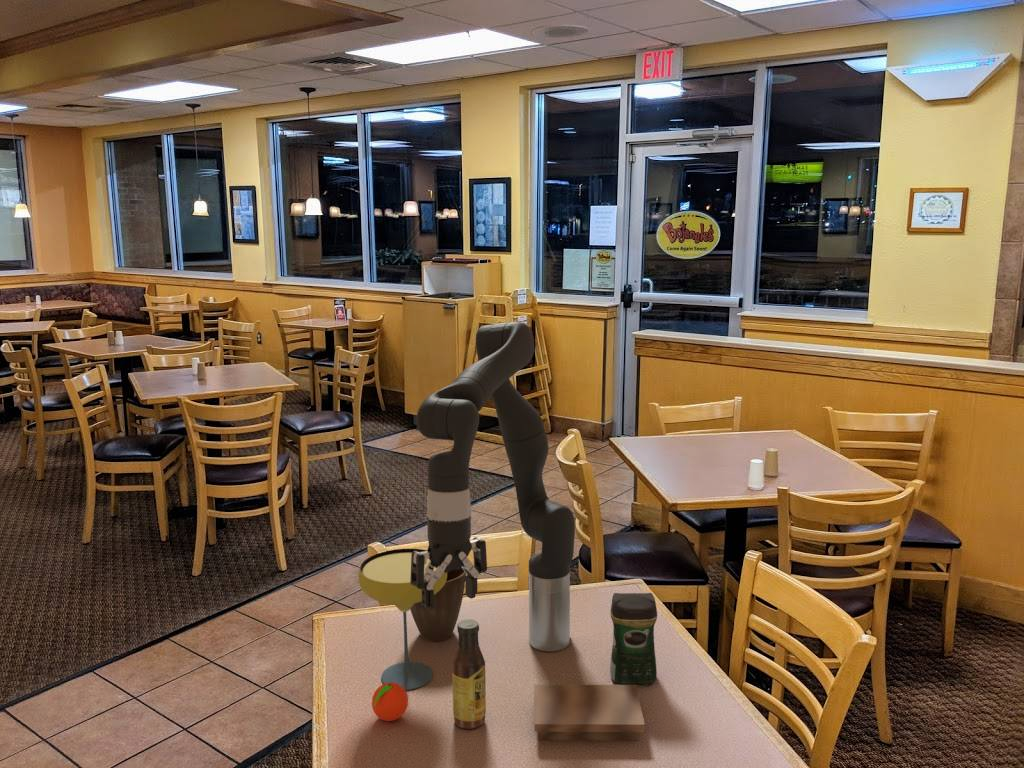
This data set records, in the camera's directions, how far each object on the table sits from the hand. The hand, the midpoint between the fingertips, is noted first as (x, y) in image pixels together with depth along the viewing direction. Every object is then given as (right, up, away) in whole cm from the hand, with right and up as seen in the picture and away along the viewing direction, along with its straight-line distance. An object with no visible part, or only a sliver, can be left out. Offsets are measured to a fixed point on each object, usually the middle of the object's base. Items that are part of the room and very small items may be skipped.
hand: (449, 602), depth 142 cm
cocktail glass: (-11, -24, +29) cm, 39 cm away
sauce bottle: (+3, -26, +13) cm, 30 cm away
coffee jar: (+36, -23, +27) cm, 51 cm away
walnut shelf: (+25, -26, +12) cm, 38 cm away
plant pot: (-7, -20, +46) cm, 51 cm away
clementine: (-13, -26, +14) cm, 32 cm away
